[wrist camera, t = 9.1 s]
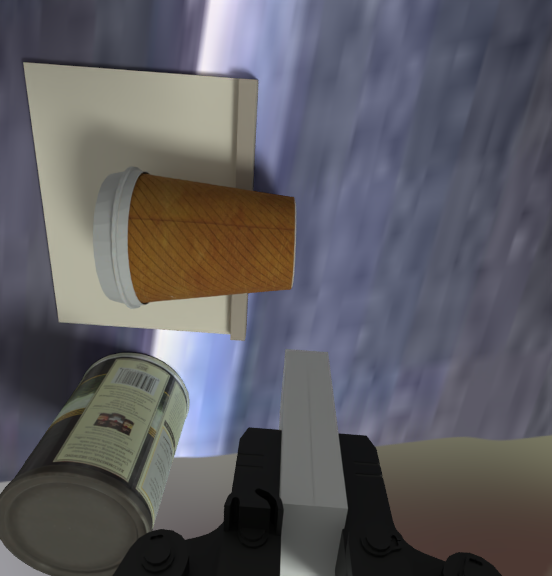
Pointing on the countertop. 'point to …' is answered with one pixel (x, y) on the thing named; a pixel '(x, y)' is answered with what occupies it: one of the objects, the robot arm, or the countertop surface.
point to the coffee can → (97, 469)
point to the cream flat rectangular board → (138, 153)
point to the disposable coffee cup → (189, 239)
